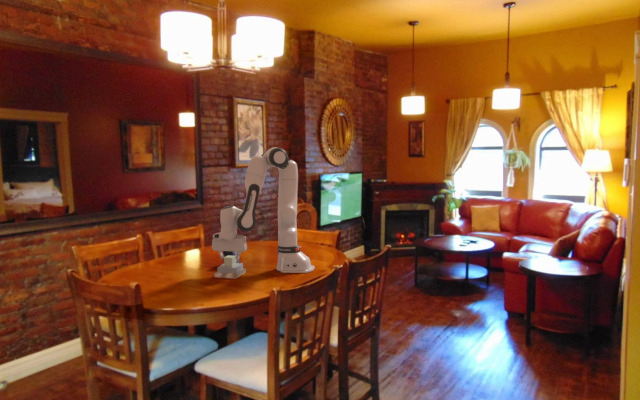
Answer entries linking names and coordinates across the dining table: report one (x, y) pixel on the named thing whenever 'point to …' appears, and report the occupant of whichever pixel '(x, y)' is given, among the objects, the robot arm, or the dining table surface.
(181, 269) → the dining table surface
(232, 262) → the beige block
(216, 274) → the bottom slab
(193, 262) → the dining table surface
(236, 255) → the small box
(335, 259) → the dining table surface
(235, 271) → the top slab
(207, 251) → the dining table surface
